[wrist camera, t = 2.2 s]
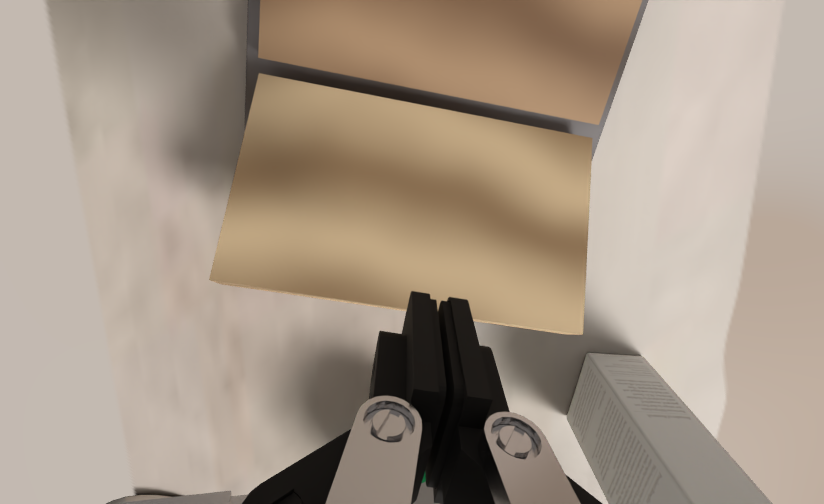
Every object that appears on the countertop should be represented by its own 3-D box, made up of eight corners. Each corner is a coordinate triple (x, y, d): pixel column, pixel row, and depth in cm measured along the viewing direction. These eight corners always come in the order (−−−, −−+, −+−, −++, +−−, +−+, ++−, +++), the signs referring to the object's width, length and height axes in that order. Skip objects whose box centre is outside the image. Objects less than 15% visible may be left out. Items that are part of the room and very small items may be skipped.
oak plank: (566, 334, 20) (582, 334, 18) (221, 284, 18) (209, 279, 17) (576, 151, 22) (592, 138, 20) (266, 92, 20) (259, 73, 19)
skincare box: (620, 419, 31) (741, 612, 20) (564, 416, 31) (655, 609, 20) (646, 353, 28) (800, 529, 18) (585, 349, 28) (703, 525, 17)
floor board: (530, 312, 27) (542, 335, 25) (246, 270, 25) (231, 290, 23) (657, -55, 19) (691, -72, 17) (259, -152, 17) (238, -186, 15)
